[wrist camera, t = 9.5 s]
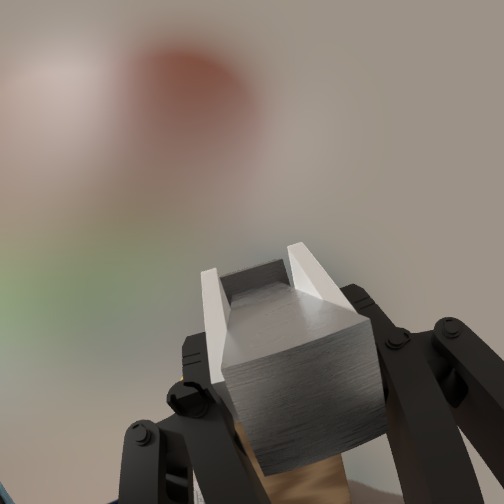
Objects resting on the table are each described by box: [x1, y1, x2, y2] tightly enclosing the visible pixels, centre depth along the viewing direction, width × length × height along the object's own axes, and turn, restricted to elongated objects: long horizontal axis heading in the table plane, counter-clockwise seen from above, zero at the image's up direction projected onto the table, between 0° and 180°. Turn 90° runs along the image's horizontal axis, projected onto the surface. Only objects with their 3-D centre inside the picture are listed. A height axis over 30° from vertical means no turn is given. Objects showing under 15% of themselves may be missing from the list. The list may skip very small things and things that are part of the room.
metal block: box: [219, 259, 388, 477], centre depth 16 cm, size 5×20×5 cm, turn 2°
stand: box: [180, 376, 352, 504], centre depth 27 cm, size 13×12×30 cm
